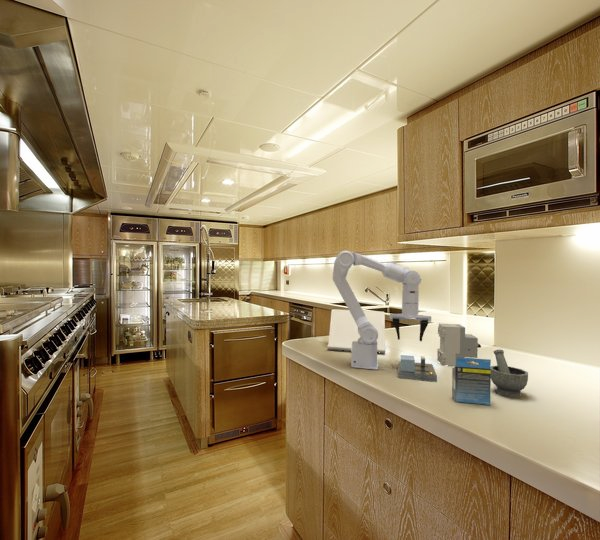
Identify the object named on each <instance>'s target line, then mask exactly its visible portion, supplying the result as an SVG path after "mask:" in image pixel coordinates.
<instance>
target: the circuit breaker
mask: <svg viewBox="0 0 600 540" xmlns="http://www.w3.org/2000/svg"><path fill="white" fill-rule="evenodd" d="M437 334H438V337H439V348H437V359H436V360H437V362H438V361H439V362H440V363H439V362H438V363H439V364H440V365H441V366H445V365H448V366H447V367H455V366H456V357H462V358H476V359H478V348H479V349H480V348H482V345H481V344H480V343H479V338H478V337H477V336H474V335H473V334H472V333H471V334H470V333H466V327H465V326H463V325H462V324H460V323H442V322H441V323H438V327H437Z"/></svg>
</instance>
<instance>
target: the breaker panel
mask: <svg viewBox="0 0 600 540" xmlns="http://www.w3.org/2000/svg"><path fill="white" fill-rule="evenodd" d="M435 370H436V369H435V367H434V365H433V364H432V363H425V366H421V362H415V372H406V371H401V360H397V378H398V377H399V378H398V379H405V378H408V380H415V379H417V380H418V381H424V380H426V381H425V382H433V381H435V382H434V383H437V382H438V375H437V373H436V371H435ZM417 380H416V381H417Z"/></svg>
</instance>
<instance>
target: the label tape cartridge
mask: <svg viewBox="0 0 600 540" xmlns="http://www.w3.org/2000/svg"><path fill="white" fill-rule="evenodd" d="M491 361H492V360H491V359H487V358H470V357H465V358H462V357H456V366H453V367H452V371H451V373H452V374H451V381H452V382H451V398H452V399H453V401H454V400H455V401H454V402H456V403H465V404H477V405H478V404H479V405H486V406H491V396H492V395H491V390H492V389H491V385H492V384H491V381H492V380H491V369H490V367H491V366H492V365H491ZM472 362H473V363H475V364H469V363H472ZM476 363H477V364H476Z"/></svg>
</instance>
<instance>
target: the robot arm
mask: <svg viewBox="0 0 600 540" xmlns="http://www.w3.org/2000/svg"><path fill="white" fill-rule="evenodd" d="M352 266H364V267H366V268H370V269H372V270H375V271H378V272H381V274H382V276H383V278H387V279H390V280H392V281H394V282H397V283H401V284H402V292H401V293H402V295H401V296H402V297H401V298H402V299H401V301H402V303H401V313H389V320H392V323H393V326H394V328H395V332H396V336H397V340H398V341H399V340H401V335H400V321H417V322H418V321H419V342H422V341H423V337H424V334H425V331H426V329H427V327H428V325H429V323H432V315H426V314H425V315H424V314H419V302H420V299H419V298H420V297H419V296H420V295H419V291H420V290H419V289H420V288H419V285H420V284H421V282H422V278H421V275H420V274H419V272H418V271H415V270H409V269H410V268H409V267H408V266H407V267H404V266H401V265H398V264H397V262H394V261H392V262H386V263H383V262H381V261H378V260H375V259H373V258H372V257H368V256H367V255H364V254H360V253H358V252H351V251H349V250H342V251H340V252H339V253H338V254H337V256H336V257H335V260H334V261H333V272H332V281H333V283H334V285H335V286H336V289H337V290H338V292H339V294H340V296H341V298H342V300H343V301H344V302H343V303H345V305H346V307H347V310H349V311H350V313H351V315H352V317H353V318H354V320H355V322H356V324H357V326H358V333H359V335H360V336H361V337H360V338H359V339H358V341H353V342H352V351H350V352H351V356H350V367H351V368H356V369H357V368H358V369H366V370H367V369H368V370H378V368H379V362H378V353H377V341H376V340H377V338H378V332H377V330H376V329H375V328H374V327H373V325H372V324H370V322H369V321H368V319H367V317H366V316H365V314H364V312H363V311H364V310H363V308H362V306H361V305H360V302H359V301H358V299H357V297H356V295H355V293H354V292H353V290H352V288H351V285H350V284H349V282H348V280H347V275H348V273H349V270H350V269H351V268H352Z"/></svg>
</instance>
